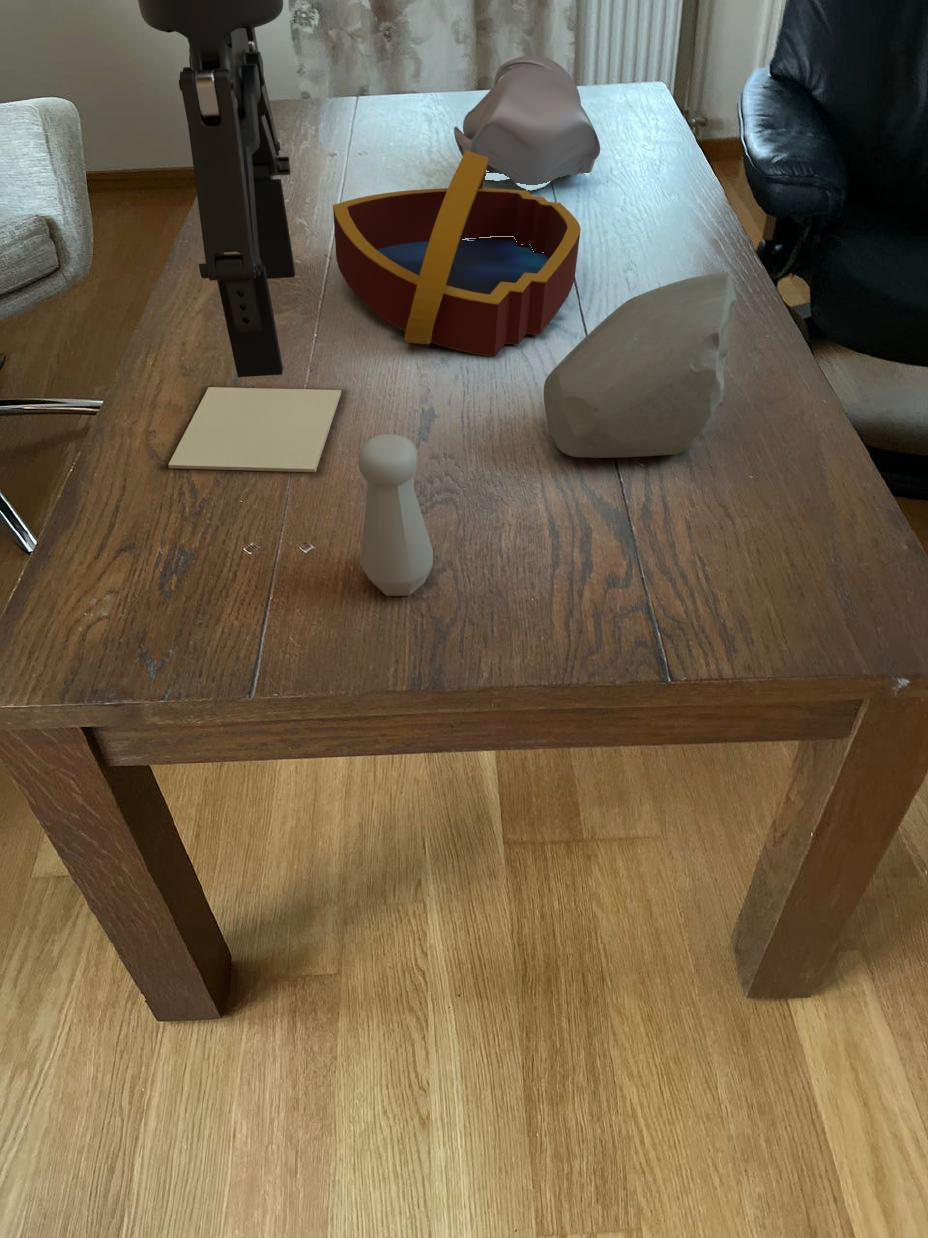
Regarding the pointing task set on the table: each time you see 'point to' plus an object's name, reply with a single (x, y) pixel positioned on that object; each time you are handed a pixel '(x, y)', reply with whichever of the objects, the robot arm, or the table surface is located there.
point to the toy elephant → (531, 124)
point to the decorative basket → (459, 260)
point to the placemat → (258, 430)
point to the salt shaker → (393, 517)
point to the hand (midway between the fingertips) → (269, 321)
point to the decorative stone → (644, 373)
